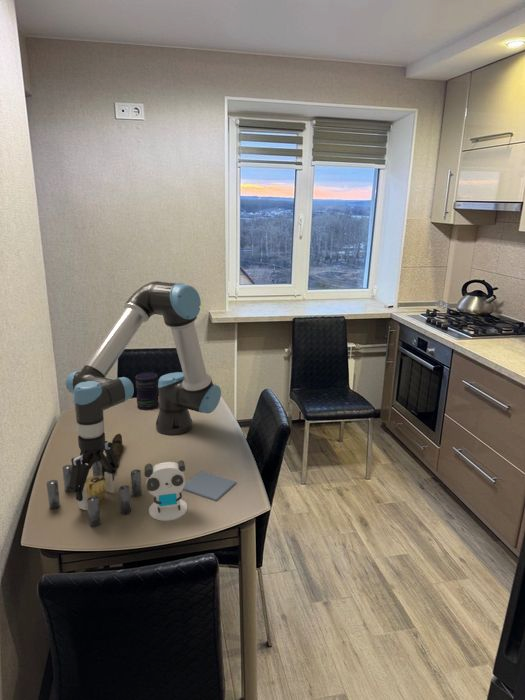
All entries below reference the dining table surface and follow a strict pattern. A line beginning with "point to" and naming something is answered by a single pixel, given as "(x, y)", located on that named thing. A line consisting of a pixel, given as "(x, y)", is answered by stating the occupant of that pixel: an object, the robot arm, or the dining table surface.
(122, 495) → the spacer posts
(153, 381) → the storage jar
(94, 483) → the gold metal cylinder
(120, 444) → the hand tool
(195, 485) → the slate board
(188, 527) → the dining table surface
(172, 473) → the panda figurine
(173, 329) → the robot arm
